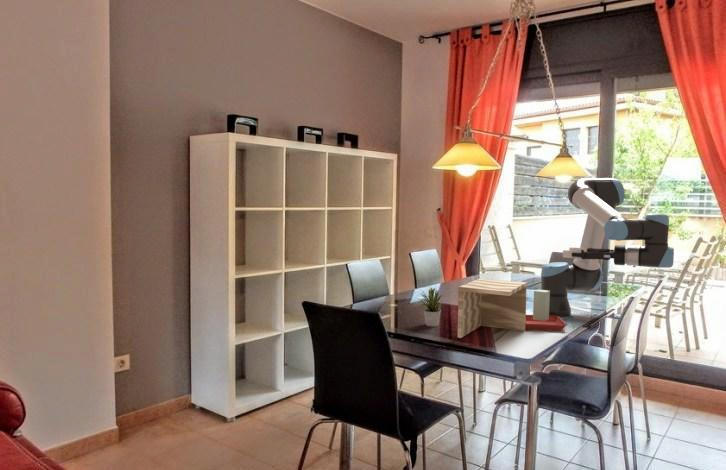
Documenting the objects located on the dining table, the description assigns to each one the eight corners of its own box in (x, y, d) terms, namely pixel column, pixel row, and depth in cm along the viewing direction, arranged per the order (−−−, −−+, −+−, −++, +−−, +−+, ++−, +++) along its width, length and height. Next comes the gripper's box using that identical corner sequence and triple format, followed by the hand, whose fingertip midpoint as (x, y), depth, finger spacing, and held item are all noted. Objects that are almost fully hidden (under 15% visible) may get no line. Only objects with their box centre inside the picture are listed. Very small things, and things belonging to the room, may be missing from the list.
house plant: (411, 320, 232) (411, 283, 231) (442, 320, 233) (443, 283, 232) (416, 328, 218) (417, 289, 217) (450, 328, 219) (450, 288, 218)
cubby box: (478, 324, 226) (479, 278, 224) (525, 330, 216) (526, 282, 214) (457, 337, 205) (458, 286, 203) (508, 344, 195) (509, 291, 193)
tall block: (536, 317, 227) (537, 289, 226) (548, 319, 224) (549, 290, 223) (532, 319, 223) (533, 290, 222) (544, 321, 220) (546, 292, 219)
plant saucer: (514, 321, 234) (515, 313, 234) (557, 322, 232) (558, 315, 231) (520, 331, 217) (520, 323, 216) (566, 333, 214) (567, 325, 214)
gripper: (622, 269, 190) (559, 265, 201) (628, 261, 211) (571, 258, 222) (623, 248, 189) (560, 245, 200) (629, 243, 211) (572, 240, 222)
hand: (566, 252), depth 211 cm, fingers open, 13 cm apart
